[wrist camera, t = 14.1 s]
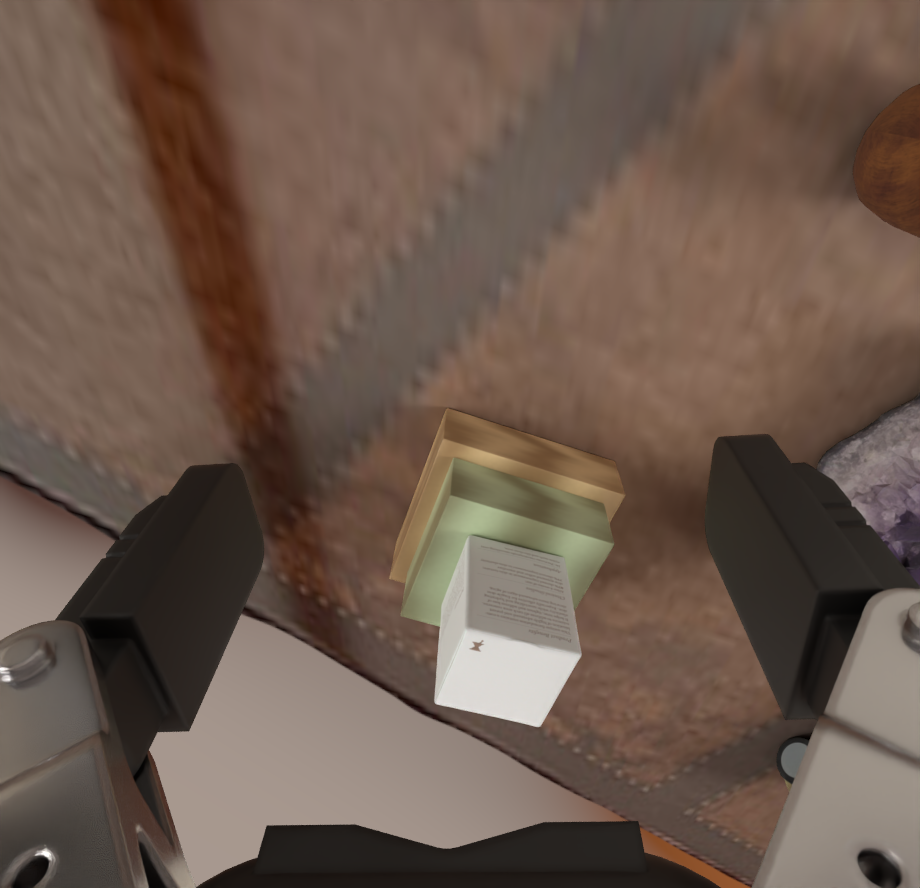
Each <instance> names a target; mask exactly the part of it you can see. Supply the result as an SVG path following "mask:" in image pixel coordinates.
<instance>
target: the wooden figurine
mask: <svg viewBox="0 0 920 888" xmlns="http://www.w3.org/2000/svg"><path fill="white" fill-rule="evenodd" d="M853 176H854V181H855V186H856V191H857V194H858V197H859V200H860V201H861V202H862V203H863V204H864V205H865V206H866V207H867V208H868V209H870V210H871V211H872V212H873V213H875V214H876V215H877V216H878V217H879V218H881V219H882V220H883V221H885V222H887V223H888V224H890V225H892V226H894V227H896V228H898V229H901V230H903V231H905V232H908V233H910V234H912V235H915V236H917V237H919V238H920V84H918V85H916V86H914V87H912V88H910V89H908V90H907V91H905V92H903V93H902V94H901V95H900V96H899V97H898V98H896V99H895V100H894V101H893V102H892V103H891V104H890V105H889V106H888V107H886V108H885V109H884V110H883V111H882V112H881V113H880V114H879V115H878V116H877V117H876V119H875V120H874V121H873V123H872V124H871V125H870V127H869V128H868V129H867V130H866V132H865V134H864V136H863V138H862V141H861V143H860V145H859V147H858V149H857V153H856V157H855V161H854V166H853Z"/></svg>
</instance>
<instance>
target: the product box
mask: <svg viewBox="0 0 920 888" xmlns="http://www.w3.org/2000/svg"><path fill="white" fill-rule="evenodd" d="M581 655H582V654H581V649H580V643H579V637H578V631H577V626H576V620H575V613H574V607H573V601H572V595H571V590H570V584H569V579H568V573H567V568H566V563H565V558H564V557H560V556H555V555H551V554H547V553H543V552H538V551H534V550H530V549H526V548H522V547H518V546H514V545H510V544H505V543H501V542H497V541H493V540H489V539H485V538H481V537H477V536H473V535H470V536H468V538H467V540H466V543H465V545H464V548H463V551H462V553H461V556H460V558H459V561H458V563H457V566H456V568H455V571H454V574H453V576H452V579H451V581H450V584H449V587H448V589H447V592H446V595H445V597H444V600H443V603H442V606H441V622H440V633H439V646H438V658H437V673H436V687H435V703H436V704H438V705H442V706H448V707H452V708H457V709H461V710H466V711H470V712H475V713H479V714H484V715H488V716H493V717H497V718H502V719H506V720H511V721H515V722H519V723H523V724H528V725H532V726H535V727H540V726H541V724H542V723H543V721H544V719H545V718H546V716H547V714H548V712H549V711H550V709H551V707H552V705H553V704H554V702H555V700H556V698H557V696H558V695H559V693H560V691H561V689H562V688H563V686H564V684H565V682H566V681H567V679H568V677H569V676H570V674H571V672H572V671H573V669H574V667H575V665H576V664H577V662H578V660H579V659H580V657H581Z"/></svg>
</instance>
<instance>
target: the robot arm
mask: <svg viewBox="0 0 920 888" xmlns="http://www.w3.org/2000/svg"><path fill="white" fill-rule="evenodd" d="M851 503H852V502H851V501H850V500H849V498H848V497H847V496H846V495H845V493H844V492H843V491H842V490H841V489H840V487H839V486H838V485H837V484H836V482H835V481H834V480H832V479H831V478H829V477H828V476H826V475H824V474H823V473H821V472H819V471H818V470H816V469H815V468H813V467H811V466H810V465H808V464H807V463H791V462H790V461H789V460H788V458H787V457H786V456H785V454H784V453H783V452H782V450H781V449H780V448H779V446H778V445H777V444H776V442H775V441H774V440H773V438H772V437H771V436H770V435H768V434H758V435H741V436H723V437H719V438H717V440H716V442H715V444H714V449H713V455H712V463H711V471H710V479H709V486H708V494H707V502H706V510H705V532H706V538H707V543H708V547H709V550H710V552H711V555H712V557H713V559H714V561H715V564H716V566H717V568H718V570H719V573H720V575H721V577H722V579H723V582H724V584H725V586H726V588H727V590H728V593H729V595H730V597H731V599H732V602H733V604H734V606H735V608H736V611H737V613H738V615H739V617H740V620H741V622H742V624H743V626H744V629H745V631H746V633H747V635H748V637H749V640H750V642H751V644H752V646H753V649H754V651H755V653H756V655H757V658H758V660H759V662H760V664H761V667H762V669H763V671H764V673H765V676H766V678H767V680H768V682H769V685H770V687H771V689H772V691H773V693H774V696H775V698H776V700H777V702H778V705H779V707H780V709H781V711H782V714H783V716H784V718H785V720H795V719H816V720H817V723H816V726H815V728H814V731H813V733H812V736H811V738H810V741H809V743H808V746H807V748H806V751H805V753H804V756H803V759H802V761H801V764H800V766H799V769H798V771H797V774H796V776H795V779H794V781H793V784H792V786H791V789H790V792H789V794H788V797H787V799H786V802H785V804H784V807H783V809H782V812H781V814H780V817H779V820H778V822H777V825H776V827H775V830H774V832H773V835H772V837H771V840H770V842H769V845H768V848H767V850H766V853H765V855H764V858H763V860H762V863H761V865H760V868H759V870H758V873H757V875H756V878H755V881H754V883H753V886H752V888H920V586H919V584H918V583H917V582H916V581H915V580H914V578H913V577H912V576H911V575H910V573H909V572H908V571H907V570H906V568H905V567H904V566H903V565H902V564H901V562H900V561H899V560H898V559H897V557H896V556H895V555H894V554H893V552H892V551H891V550H890V549H889V548H888V546H887V545H886V544H885V543H884V541H883V540H882V539H881V538H880V537H879V535H878V534H877V533H876V532H875V530H874V529H873V528H872V527H871V525H867V524H866V519H865V518H864V517H863V516H862V514H861V513H860V512H859V511H858V509H857V508H856V507H852V505H851ZM119 537H120V540H116V541H115V543H114V544H113V545H112V547H111V548H110V549H109V551H108V552H107V553H106V558H104V559H101V561H100V562H99V563H98V565H97V566H96V567H95V569H94V570H93V571H92V573H91V574H90V575H89V576H88V578H87V579H86V580H85V582H84V583H83V584H82V586H81V587H80V588H79V589H78V591H77V592H76V593H75V595H74V596H73V597H72V599H71V600H70V601H69V602H68V604H67V605H66V606H65V608H64V609H63V610H62V612H61V613H60V614H59V615H58V617H57V618H56V620H54V621H47V622H41V623H38V624H35V625H31V626H29V627H26V628H23V629H21V630H19V631H17V632H15V633H13V634H11V635H9V636H7V637H6V638H4V639H2V640H1V641H0V888H720V887H719V886H717V885H716V884H715V883H713V882H712V881H710V880H708V879H707V878H705V877H703V876H701V875H699V874H697V873H695V872H693V871H692V870H690V869H688V868H686V867H684V866H681V865H679V864H677V863H674V862H672V861H669V860H667V859H664V858H662V857H658V856H655V855H651V854H648V853H644V849H643V843H642V838H641V833H640V827H639V822H638V821H623V822H543V823H540V824H537V825H533V826H530V827H526V828H523V829H519V830H516V831H512V832H509V833H505V834H502V835H499V836H495V837H492V838H488V839H485V840H481V841H477V842H474V843H471V844H467V845H464V846H460V847H456V848H452V849H442V848H437V847H433V846H429V845H426V844H423V843H419V842H415V841H412V840H408V839H405V838H401V837H398V836H394V835H390V834H387V833H383V832H380V831H376V830H372V829H369V828H365V827H361V826H358V825H276V826H275V825H274V826H267V827H266V830H265V834H264V837H263V841H262V844H261V847H260V851H259V855H258V858H255V859H252V860H249V861H246V862H244V863H242V864H239V865H237V866H234V867H232V868H230V869H227V870H225V871H223V872H221V873H220V874H218V875H216V876H214V877H212V878H210V879H209V880H207V881H205V882H203V883H202V884H200V885H199V886H198V887H196V886H195V883H194V881H193V879H192V876H191V874H190V872H189V869H188V866H187V863H186V861H185V858H184V855H183V851H182V848H181V845H180V842H179V838H178V835H177V832H176V829H175V825H174V822H173V819H172V816H171V813H170V810H169V806H168V804H167V800H166V796H165V793H164V790H163V787H162V784H161V781H160V777H159V775H158V771H157V767H156V765H155V761H154V759H153V757H152V755H151V753H150V751H149V748H150V746H151V744H152V742H153V740H154V738H155V736H156V734H157V732H175V731H176V732H177V731H178V732H179V731H189V730H190V728H191V725H192V723H193V721H194V719H195V717H196V714H197V712H198V710H199V708H200V705H201V703H202V701H203V699H204V696H205V694H206V692H207V690H208V687H209V685H210V682H211V681H212V678H213V676H214V674H215V671H216V669H217V667H218V665H219V662H220V660H221V658H222V656H223V653H224V651H225V649H226V646H227V644H228V642H229V640H230V637H231V635H232V633H233V631H234V629H235V626H236V624H237V621H238V620H239V617H240V615H241V613H242V611H243V608H244V606H245V604H246V602H247V599H248V597H249V595H250V593H251V590H252V588H253V586H254V584H255V581H256V579H257V577H258V575H259V572H260V570H261V567H262V563H263V557H264V541H263V535H262V531H261V528H260V525H259V522H258V519H257V515H256V512H255V509H254V506H253V503H252V499H251V496H250V493H249V490H248V487H247V484H246V480H245V477H244V474H243V472H242V470H241V468H240V467H239V466H238V465H237V464H234V463H230V464H213V465H195V466H190V467H189V468H188V469H187V470H186V471H185V472H184V474H183V475H182V476H181V478H180V479H179V480H178V482H177V483H176V485H175V486H174V487H173V489H172V490H171V491H170V493H169V494H168V495H167V496H161V497H159V498H158V499H157V500H155V501H154V502H152V503H151V504H150V505H148V506H147V507H146V508H144V509H143V510H142V511H140V512H139V513H138V514H136V515H135V517H134V518H133V519H132V520H131V522H130V523H129V524H128V526H127V527H126V528H125V530H124V531H123V532H122V533H121V535H120V536H119Z"/></svg>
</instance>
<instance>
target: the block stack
mask: <svg viewBox="0 0 920 888" xmlns="http://www.w3.org/2000/svg"><path fill="white" fill-rule="evenodd" d="M624 497H625V492H624V489H623V486H622V483H621V479H620V476H619V473H618V470H617V467H616V463H615V461H612V460H609V459H606V458H603V457H600V456H596V455H593V454H590V453H587V452H584V451H581V450H578V449H574V448H571V447H568V446H565V445H562V444H559V443H556V442H553V441H549V440H546V439H543V438H540V437H537V436H534V435H531V434H527V433H524V432H521V431H518V430H515V429H512V428H509V427H506V426H502V425H499V424H496V423H493V422H490V421H487V420H484V419H480V418H477V417H474V416H471V415H468V414H465V413H462V412H459V411H455V410H452V409H449V408H447V409H446V411H445V414H444V416H443V419H442V422H441V424H440V427H439V430H438V432H437V435H436V438H435V440H434V443H433V446H432V448H431V451H430V454H429V456H428V459H427V462H426V464H425V467H424V470H423V472H422V475H421V478H420V480H419V483H418V486H417V488H416V491H415V494H414V496H413V499H412V502H411V504H410V507H409V510H408V512H407V515H406V518H405V520H404V523H403V526H402V528H401V531H400V534H399V536H398V539H397V542H396V547H395V552H394V557H393V562H392V568H391V573H390V579H392V580H395V581H399V582H403V583H406V584H405V591H404V597H403V603H402V610H401V616H403V617H406V618H410V619H414V620H417V621H421V622H425V623H429V624H432V625H436V626H440V622H441V606H442V603H443V600H444V597H445V595H446V592H447V589H448V587H449V584H450V581H451V579H452V576H453V574H454V571H455V568H456V566H457V563H458V561H459V558H460V556H461V553H462V551H463V548H464V545H465V543H466V540H467V538H468V536H470V535H473V536H477V537H481V538H485V539H489V540H493V541H497V542H501V543H505V544H510V545H514V546H518V547H522V548H526V549H530V550H534V551H538V552H543V553H547V554H551V555H555V556H560V557H564V558H565V563H566V568H567V573H568V579H569V584H570V590H571V595H572V601H573V607H574V610H575V609H576V607H577V605H578V604H579V602H580V600H581V599H582V597H583V596H584V594H585V592H586V591H587V589H588V587H589V586H590V584H591V582H592V581H593V579H594V577H595V576H596V574H597V572H598V571H599V569H600V568H601V566H602V564H603V563H604V561H605V559H606V558H607V556H608V554H609V553H610V551H611V549H612V548H613V546H614V540H613V537H612V533H611V529H610V525H609V523H610V521H611V519H612V518H613V516H614V514H615V513H616V511H617V509H618V507H619V506H620V504H621V502H622V501H623V499H624Z"/></svg>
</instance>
